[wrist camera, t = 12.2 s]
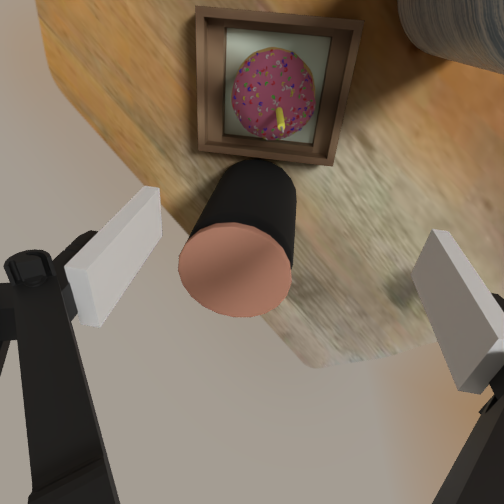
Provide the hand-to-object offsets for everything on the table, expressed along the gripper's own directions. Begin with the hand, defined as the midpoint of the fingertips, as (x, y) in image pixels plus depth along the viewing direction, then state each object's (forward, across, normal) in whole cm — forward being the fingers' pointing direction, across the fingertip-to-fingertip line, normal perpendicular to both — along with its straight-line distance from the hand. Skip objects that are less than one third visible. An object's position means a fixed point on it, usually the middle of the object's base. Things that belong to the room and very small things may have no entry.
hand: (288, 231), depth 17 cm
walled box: (+27, -3, +2) cm, 28 cm away
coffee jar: (+28, -4, -11) cm, 30 cm away
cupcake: (+27, -3, +2) cm, 27 cm away
